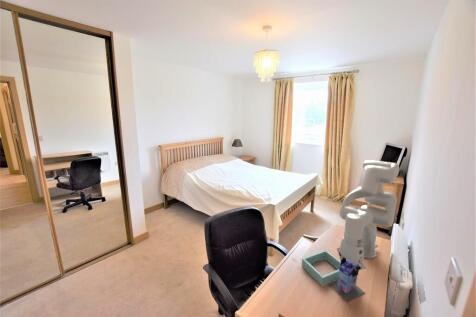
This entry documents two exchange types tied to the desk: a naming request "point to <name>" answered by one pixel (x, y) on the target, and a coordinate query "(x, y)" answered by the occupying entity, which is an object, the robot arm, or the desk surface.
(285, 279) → the desk surface
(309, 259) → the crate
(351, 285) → the ink cartridge box
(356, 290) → the mat
